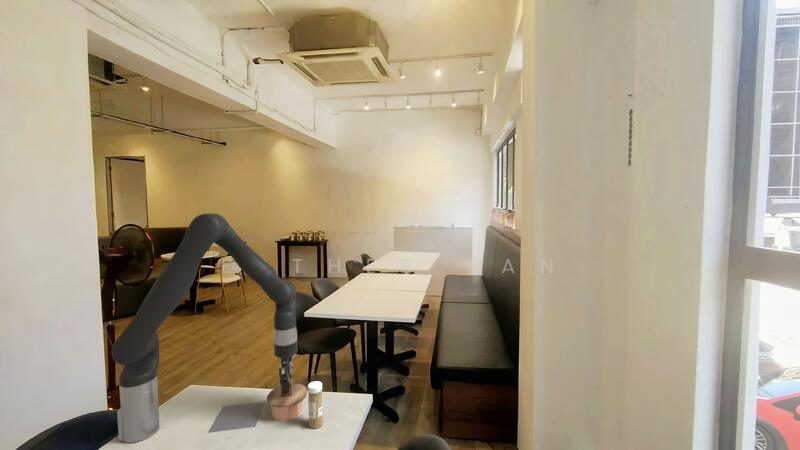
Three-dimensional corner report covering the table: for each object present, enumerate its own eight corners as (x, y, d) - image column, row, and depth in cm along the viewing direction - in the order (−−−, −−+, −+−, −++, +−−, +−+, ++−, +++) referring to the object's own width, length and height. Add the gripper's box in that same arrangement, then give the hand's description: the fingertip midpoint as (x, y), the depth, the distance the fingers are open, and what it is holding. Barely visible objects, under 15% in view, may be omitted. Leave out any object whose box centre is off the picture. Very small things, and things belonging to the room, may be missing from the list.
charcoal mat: (207, 434, 102) (207, 432, 102) (223, 407, 116) (223, 406, 116) (255, 428, 105) (255, 426, 105) (264, 403, 119) (264, 401, 119)
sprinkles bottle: (325, 425, 106) (324, 385, 105) (311, 431, 103) (310, 389, 103) (320, 418, 110) (319, 379, 109) (306, 423, 107) (305, 383, 106)
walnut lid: (263, 409, 105) (262, 393, 105) (271, 387, 118) (270, 373, 118) (305, 404, 108) (304, 388, 107) (308, 383, 120) (308, 369, 120)
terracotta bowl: (269, 424, 107) (268, 406, 107) (275, 406, 117) (274, 389, 117) (301, 420, 109) (300, 402, 109) (304, 402, 119) (303, 386, 118)
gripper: (277, 333, 118) (279, 379, 119) (269, 349, 104) (271, 402, 105) (299, 331, 119) (300, 377, 120) (294, 347, 105) (295, 399, 106)
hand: (287, 388), depth 113 cm, fingers open, 4 cm apart
